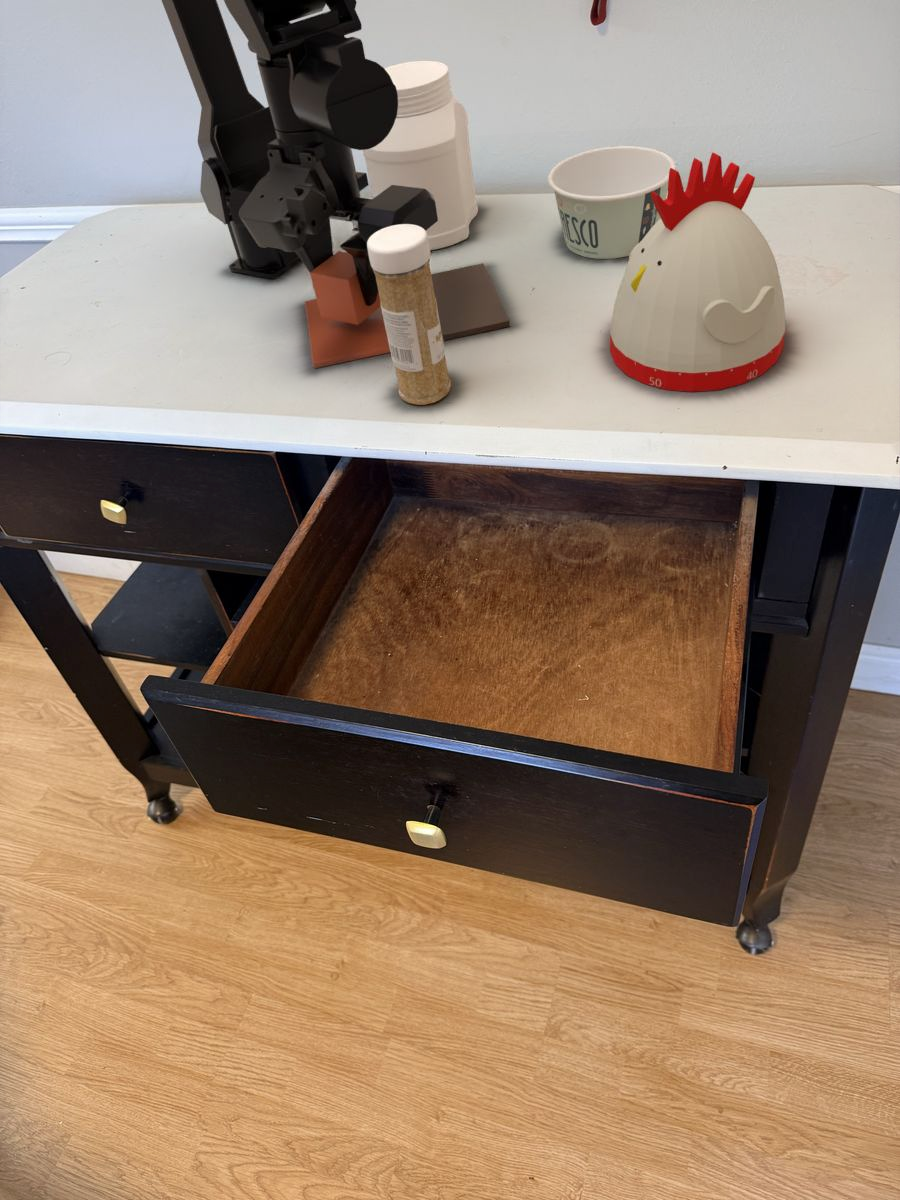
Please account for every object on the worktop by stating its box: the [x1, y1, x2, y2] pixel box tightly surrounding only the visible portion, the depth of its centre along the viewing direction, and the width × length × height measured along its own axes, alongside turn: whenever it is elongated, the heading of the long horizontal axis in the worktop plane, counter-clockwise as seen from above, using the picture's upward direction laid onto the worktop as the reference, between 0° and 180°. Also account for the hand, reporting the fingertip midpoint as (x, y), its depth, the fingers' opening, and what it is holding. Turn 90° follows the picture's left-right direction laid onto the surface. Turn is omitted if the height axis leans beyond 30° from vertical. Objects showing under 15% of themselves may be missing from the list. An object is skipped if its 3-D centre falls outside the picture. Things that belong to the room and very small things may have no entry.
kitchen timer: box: [609, 151, 786, 393], centre depth 70 cm, size 14×14×15 cm
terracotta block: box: [309, 250, 381, 325], centre depth 82 cm, size 4×4×4 cm
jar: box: [362, 60, 479, 251], centre depth 93 cm, size 12×10×15 cm
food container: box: [547, 145, 677, 260], centre depth 88 cm, size 12×12×6 cm
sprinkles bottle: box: [367, 224, 452, 406], centre depth 71 cm, size 5×5×14 cm
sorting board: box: [304, 262, 511, 369], centre depth 85 cm, size 18×12×1 cm, turn 100°
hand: (350, 299), depth 83 cm, fingers closed on terracotta block, 4 cm apart
